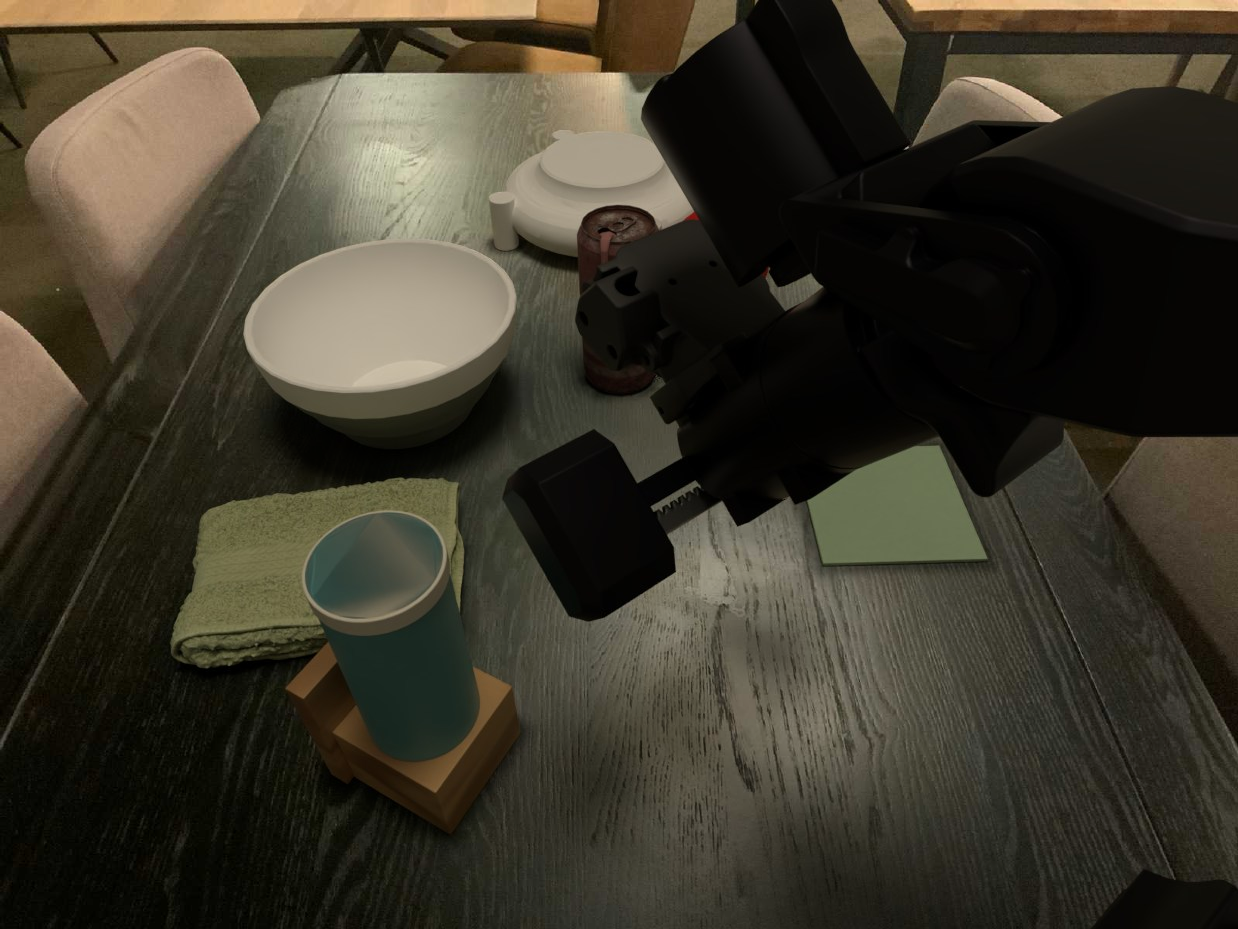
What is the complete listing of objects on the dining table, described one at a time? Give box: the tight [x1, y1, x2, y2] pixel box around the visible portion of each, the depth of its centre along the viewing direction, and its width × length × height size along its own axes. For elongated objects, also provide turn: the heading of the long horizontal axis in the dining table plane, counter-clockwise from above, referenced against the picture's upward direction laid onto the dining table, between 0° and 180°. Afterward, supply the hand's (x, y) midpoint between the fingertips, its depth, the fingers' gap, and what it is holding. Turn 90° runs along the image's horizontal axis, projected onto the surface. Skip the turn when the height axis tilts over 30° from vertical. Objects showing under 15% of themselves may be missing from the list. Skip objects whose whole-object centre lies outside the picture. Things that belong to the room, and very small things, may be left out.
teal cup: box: [302, 510, 480, 761], centre depth 40 cm, size 6×6×12 cm
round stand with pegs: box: [488, 129, 694, 258], centre depth 87 cm, size 24×24×7 cm
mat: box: [806, 445, 989, 567], centre depth 61 cm, size 11×11×1 cm
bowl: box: [243, 237, 518, 450], centre depth 66 cm, size 20×20×10 cm
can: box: [577, 205, 659, 395], centre depth 67 cm, size 6×6×14 cm
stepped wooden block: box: [285, 642, 521, 835], centre depth 45 cm, size 8×8×9 cm
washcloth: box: [170, 477, 465, 669], centre depth 56 cm, size 13×18×3 cm
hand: (652, 489), depth 43 cm, fingers open, 9 cm apart
